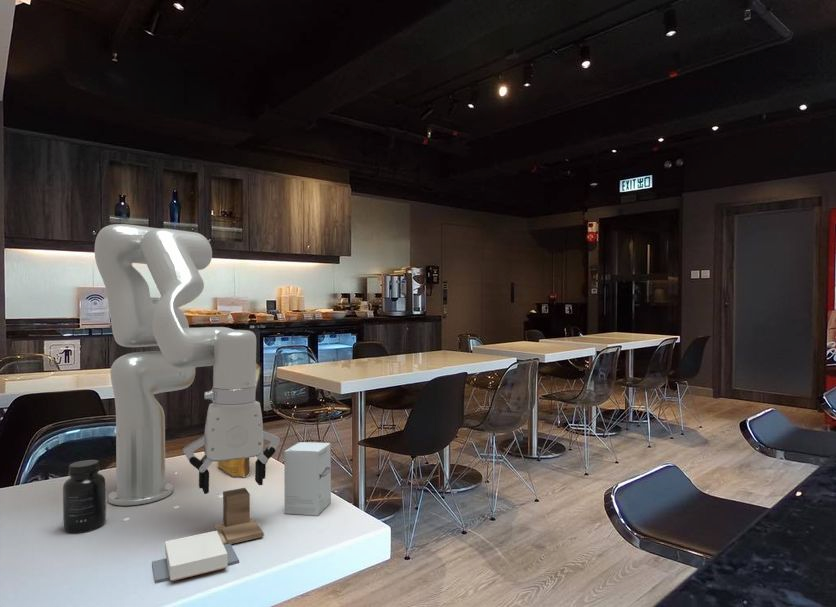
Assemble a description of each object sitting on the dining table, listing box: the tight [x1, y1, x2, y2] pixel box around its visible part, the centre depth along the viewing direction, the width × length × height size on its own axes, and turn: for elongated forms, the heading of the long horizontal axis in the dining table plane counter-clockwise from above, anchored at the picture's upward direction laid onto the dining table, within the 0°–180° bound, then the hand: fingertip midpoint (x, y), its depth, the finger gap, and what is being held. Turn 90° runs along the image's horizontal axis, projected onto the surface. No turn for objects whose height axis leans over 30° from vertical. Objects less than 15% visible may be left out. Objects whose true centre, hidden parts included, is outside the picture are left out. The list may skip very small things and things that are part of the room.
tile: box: [164, 530, 229, 582], centre depth 83 cm, size 2×8×10 cm
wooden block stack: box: [222, 487, 264, 545], centre depth 95 cm, size 10×6×6 cm, turn 30°
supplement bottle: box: [62, 459, 107, 534], centre depth 99 cm, size 7×7×12 cm
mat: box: [151, 544, 240, 584], centre depth 83 cm, size 7×12×1 cm, turn 120°
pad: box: [214, 516, 265, 545], centre depth 96 cm, size 9×7×1 cm
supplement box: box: [283, 441, 332, 517], centre depth 107 cm, size 7×7×13 cm
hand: (232, 487), depth 98 cm, fingers open, 9 cm apart
